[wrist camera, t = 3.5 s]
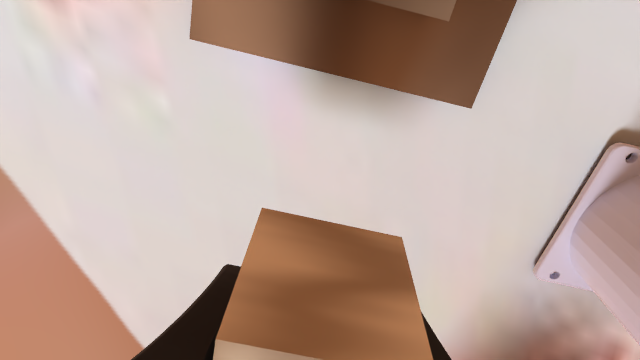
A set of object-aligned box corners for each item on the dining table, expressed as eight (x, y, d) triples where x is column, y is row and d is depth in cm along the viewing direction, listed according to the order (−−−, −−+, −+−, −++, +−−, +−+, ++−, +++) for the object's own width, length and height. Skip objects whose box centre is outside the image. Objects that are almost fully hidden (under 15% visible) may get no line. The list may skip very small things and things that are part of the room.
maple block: (401, 237, 12) (438, 381, 8) (363, 335, 14) (375, 495, 10) (262, 207, 12) (215, 338, 7) (243, 312, 14) (198, 465, 9)
